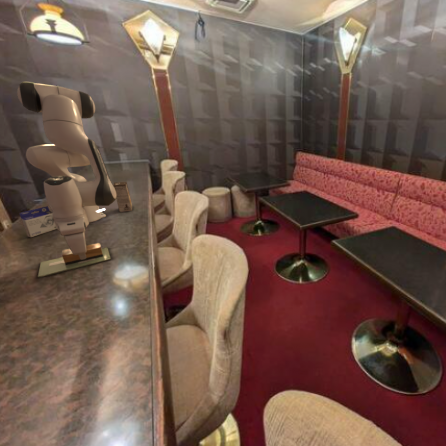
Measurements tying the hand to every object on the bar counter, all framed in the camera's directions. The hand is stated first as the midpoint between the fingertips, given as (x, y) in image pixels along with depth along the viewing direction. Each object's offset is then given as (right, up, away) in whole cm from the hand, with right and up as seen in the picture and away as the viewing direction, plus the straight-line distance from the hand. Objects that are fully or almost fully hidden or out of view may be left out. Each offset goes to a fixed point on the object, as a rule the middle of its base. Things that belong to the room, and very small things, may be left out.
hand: (83, 255), depth 94 cm
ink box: (-38, +8, +22) cm, 44 cm away
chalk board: (-2, -2, -1) cm, 3 cm away
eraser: (0, -1, +1) cm, 1 cm away
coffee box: (-23, +21, +56) cm, 64 cm away
